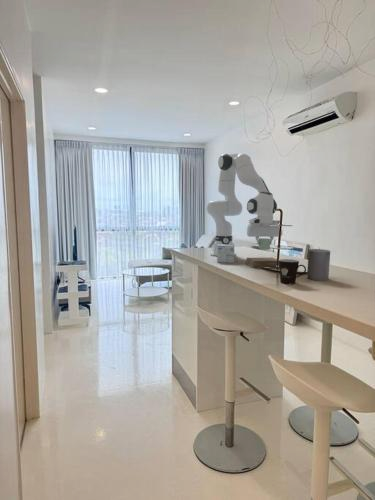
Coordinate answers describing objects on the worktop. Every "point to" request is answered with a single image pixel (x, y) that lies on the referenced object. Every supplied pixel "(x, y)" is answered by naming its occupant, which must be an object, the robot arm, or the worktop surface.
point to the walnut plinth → (261, 262)
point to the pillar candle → (318, 264)
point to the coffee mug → (289, 270)
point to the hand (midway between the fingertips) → (264, 244)
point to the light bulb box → (225, 253)
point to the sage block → (264, 243)
